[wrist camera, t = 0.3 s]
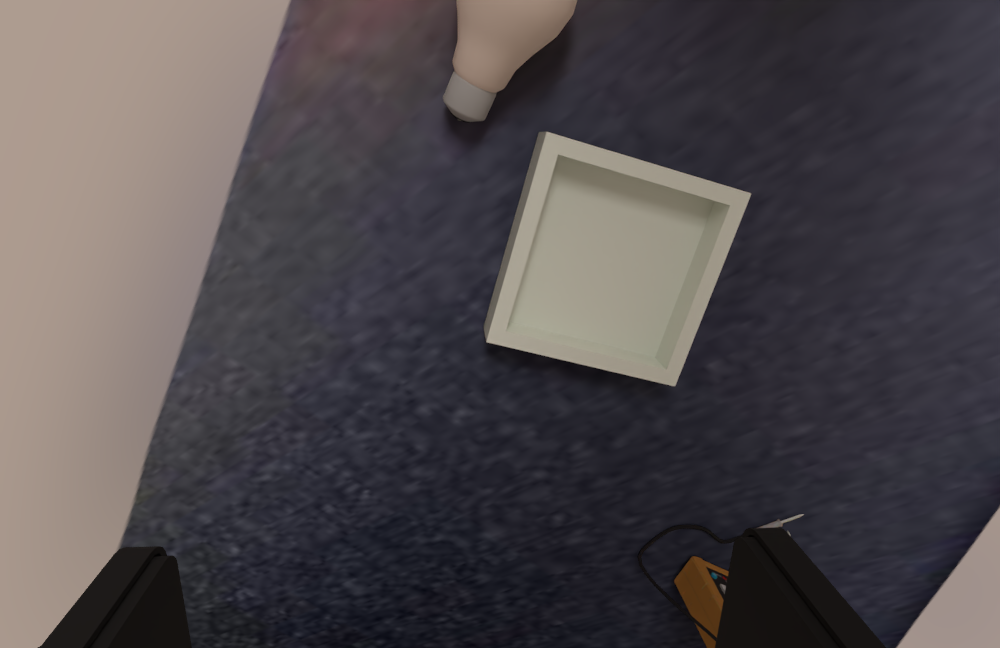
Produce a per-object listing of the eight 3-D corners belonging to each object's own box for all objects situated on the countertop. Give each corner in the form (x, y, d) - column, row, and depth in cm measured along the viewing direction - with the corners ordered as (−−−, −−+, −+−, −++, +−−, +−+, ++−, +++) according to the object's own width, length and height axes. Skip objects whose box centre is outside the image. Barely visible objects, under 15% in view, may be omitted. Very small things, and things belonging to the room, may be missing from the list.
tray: (538, 131, 36) (546, 131, 33) (728, 189, 38) (751, 193, 35) (483, 327, 39) (486, 342, 36) (659, 369, 41) (675, 386, 38)
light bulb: (495, 159, 31) (601, -62, 26) (388, 98, 31) (472, -137, 26) (518, 137, 37) (609, -47, 31) (428, 86, 37) (503, -108, 31)
